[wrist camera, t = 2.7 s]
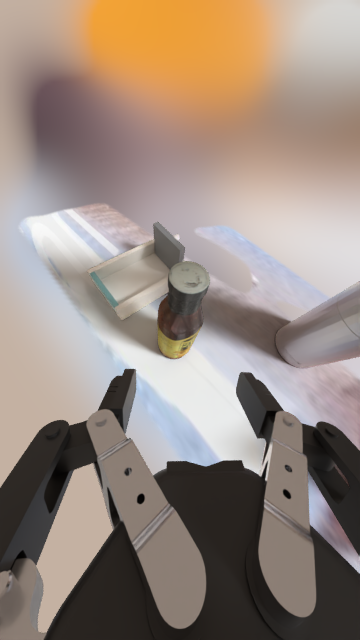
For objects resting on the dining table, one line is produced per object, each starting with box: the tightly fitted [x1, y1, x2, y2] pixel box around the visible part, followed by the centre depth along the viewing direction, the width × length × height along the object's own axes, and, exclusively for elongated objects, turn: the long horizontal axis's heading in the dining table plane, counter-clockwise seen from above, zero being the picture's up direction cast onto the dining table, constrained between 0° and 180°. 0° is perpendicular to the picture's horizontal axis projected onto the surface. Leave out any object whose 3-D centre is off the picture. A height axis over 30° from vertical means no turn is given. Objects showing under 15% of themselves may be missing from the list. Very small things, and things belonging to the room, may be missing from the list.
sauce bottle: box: [157, 261, 210, 359], centre depth 25 cm, size 6×6×20 cm
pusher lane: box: [87, 239, 184, 320], centre depth 37 cm, size 18×12×4 cm, turn 129°
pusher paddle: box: [153, 222, 185, 269], centre depth 37 cm, size 3×9×8 cm, turn 39°
